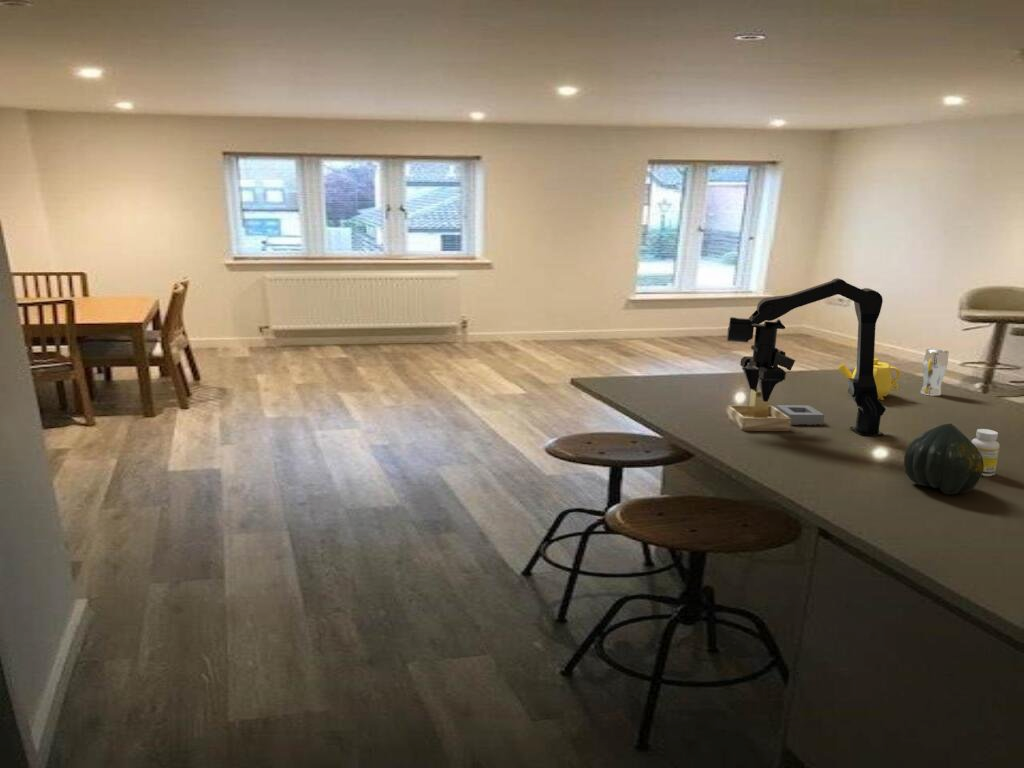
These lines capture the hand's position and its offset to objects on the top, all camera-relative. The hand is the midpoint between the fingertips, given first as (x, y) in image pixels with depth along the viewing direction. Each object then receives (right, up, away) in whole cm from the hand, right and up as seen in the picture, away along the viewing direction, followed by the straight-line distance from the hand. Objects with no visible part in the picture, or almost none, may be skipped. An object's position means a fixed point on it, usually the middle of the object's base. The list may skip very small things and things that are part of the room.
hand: (759, 397), depth 202 cm
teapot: (+49, 0, +37) cm, 61 cm away
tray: (0, -8, +2) cm, 8 cm away
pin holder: (+14, -7, +6) cm, 17 cm away
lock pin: (0, -7, +2) cm, 7 cm away
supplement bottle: (+40, -17, -34) cm, 56 cm away
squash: (+25, -19, -44) cm, 54 cm away
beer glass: (+73, 0, +40) cm, 83 cm away
